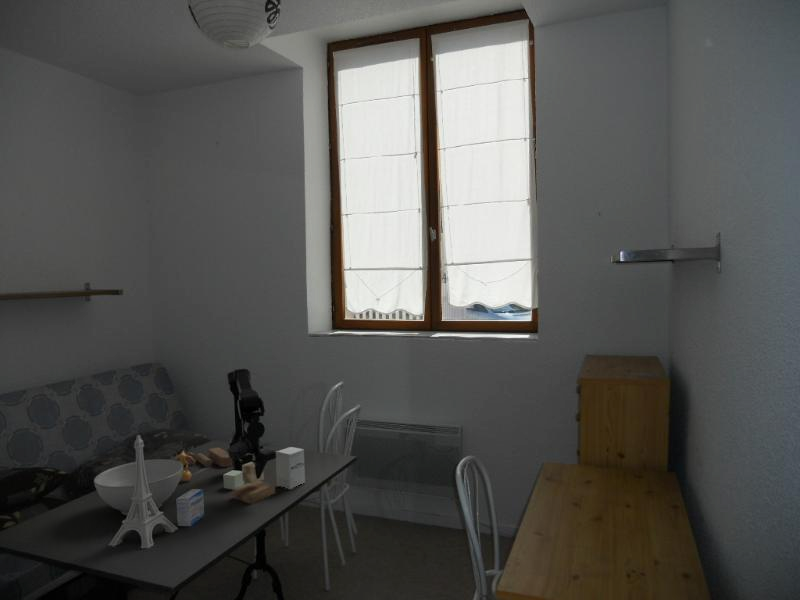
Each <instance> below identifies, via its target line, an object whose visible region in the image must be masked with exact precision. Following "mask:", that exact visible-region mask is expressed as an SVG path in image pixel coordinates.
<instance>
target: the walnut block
mask: <svg viewBox="0 0 800 600" xmlns="http://www.w3.org/2000/svg"><path fill="white" fill-rule="evenodd" d="M273 494H275V495H276V485H275V484H271V483H268V482H265V481H263V480H261V481H258V482H255V483H253V484H251V483H248V482H246V483H244V485H242V486H239V487H236V488H234V489H232V499H235V500H238V501H241V502H245V503H248V504H251V505H252V504H255V503H257V502H258V503H259V502H260V501H263V500H264V498H265V499H267V498H269V496H270V497H272V496H274V495H273ZM271 495H272V496H271ZM266 497H267V498H266ZM259 500H260V501H259Z"/></svg>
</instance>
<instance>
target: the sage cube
mask: <svg viewBox="0 0 800 600" xmlns="http://www.w3.org/2000/svg"><path fill="white" fill-rule="evenodd" d="M231 470H232V469H231ZM222 476H223V489H225V488H226V489H228V490H233V489H234V488H236V487H239V486H242V485H244V484H245V482H244V481H243V475H242V471H235V470H232V471H230V472H229V471H228V472H226V473H224V474H223V475H222Z"/></svg>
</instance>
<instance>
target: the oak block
mask: <svg viewBox="0 0 800 600" xmlns="http://www.w3.org/2000/svg"><path fill="white" fill-rule="evenodd" d="M264 471H265V469H263V472H262V474H261V477H260V478H259V479H257V477H256V471H255V464H254V463H252V462H250V463H247V464H244V465H242V475H243V481H244V483H251V484H253V483H255V482H258V481H264V479H265V474H264V473H265V472H264Z"/></svg>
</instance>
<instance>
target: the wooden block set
mask: <svg viewBox="0 0 800 600" xmlns="http://www.w3.org/2000/svg"><path fill="white" fill-rule="evenodd" d="M207 452H208V454H207V455H208V456H206V455H205V454H203V453H201V452H199V453H196V454H194V453H193V452H187V453H185V454H186V455H188V456H191V457H192V458H193V459H194V460H195V461H193V460H192V459H191V458H188V457H186V459H185V461H187V463H188V467H190V466H193V467H194V466H196V464H197V463H195V462H196V461H197V462H198V463H200V464H201V465H202V466H203V467H205V468H210V467H212V465H213V463H214V464H217V466H219V467H221V468H231V467H233V465H232V459H231V458H229V455H228V452H227V451H225V450H224V449H222V448H220V447H213V448H209V449H208V451H207ZM177 461H178V462H180V461H181V459H180V458H177ZM184 466H185V467H186V466H187V465H185V463H184V464H183V467H184Z"/></svg>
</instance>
